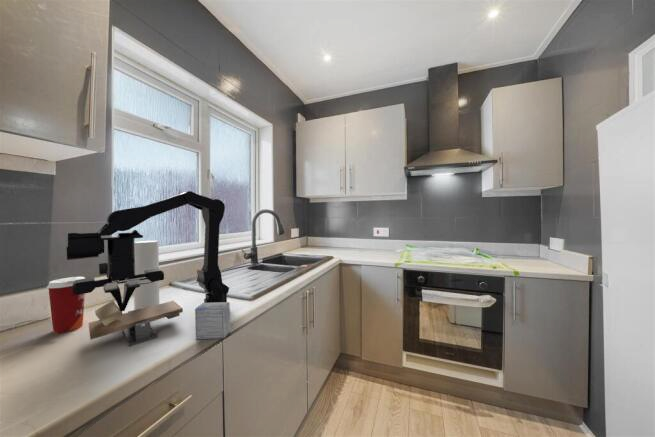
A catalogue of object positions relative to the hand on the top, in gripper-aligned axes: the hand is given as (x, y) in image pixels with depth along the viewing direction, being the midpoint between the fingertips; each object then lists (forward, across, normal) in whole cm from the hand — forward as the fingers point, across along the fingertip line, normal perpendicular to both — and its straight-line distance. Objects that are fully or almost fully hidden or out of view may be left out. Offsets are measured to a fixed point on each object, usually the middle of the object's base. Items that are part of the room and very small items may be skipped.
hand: (122, 310), depth 66 cm
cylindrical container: (+8, -8, -18) cm, 21 cm away
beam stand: (+8, -4, 0) cm, 8 cm away
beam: (+5, -4, 0) cm, 6 cm away
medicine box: (+8, -18, +18) cm, 26 cm away
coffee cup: (+8, +11, -20) cm, 24 cm away
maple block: (+2, +2, 0) cm, 2 cm away
